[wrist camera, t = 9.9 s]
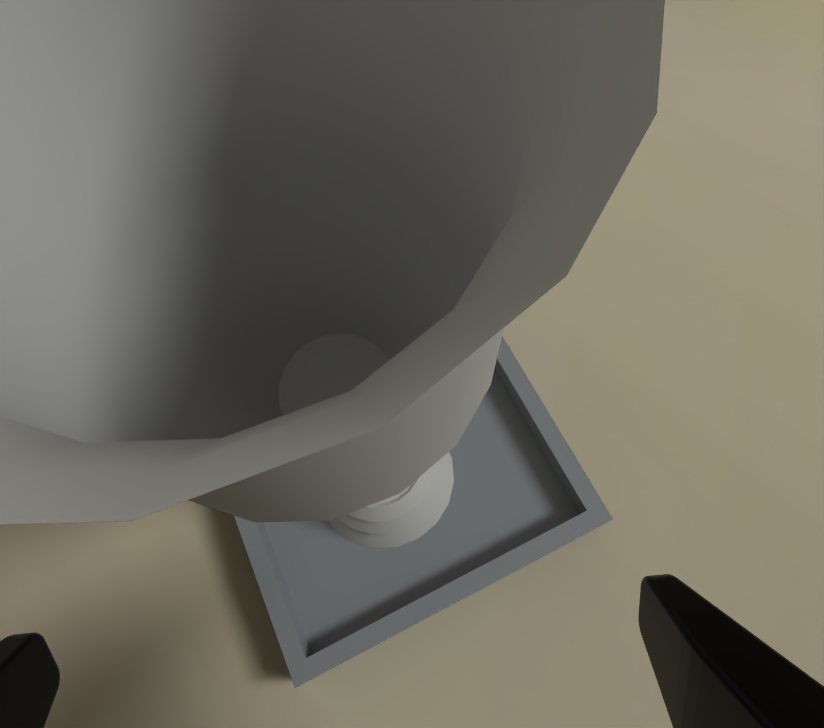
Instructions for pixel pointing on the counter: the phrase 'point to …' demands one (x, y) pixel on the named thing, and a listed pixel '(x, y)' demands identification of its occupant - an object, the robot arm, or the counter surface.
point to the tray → (429, 536)
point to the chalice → (287, 240)
